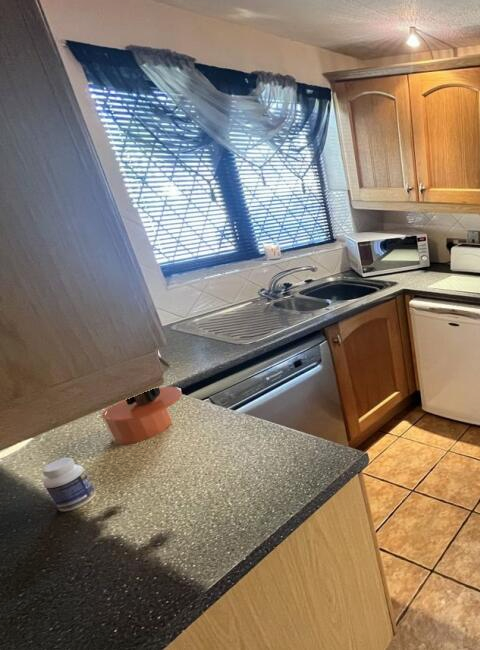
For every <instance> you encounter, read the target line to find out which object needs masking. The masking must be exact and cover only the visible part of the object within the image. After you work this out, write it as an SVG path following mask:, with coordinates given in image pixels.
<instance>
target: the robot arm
mask: <svg viewBox="0 0 480 650" xmlns="http://www.w3.org/2000/svg"><path fill="white" fill-rule="evenodd" d="M158 357H159V360H160V362H161V365H162V368H163V371H164V372H163V373H165V372H166V371H168V370H169V369H170V368H171V365H170V364H169V363H168V362H167V361H166V360H164V359H163V357H162V356H161V353H160V351H159V350H158ZM159 388H160V387H159V386H158V388H155V389H152V390H150V391H147V392H145V394H146V397H147V399H148V401H150V402H151V401H154V400H155V399H156V398H157V397H158V396H159V395H160V389H159ZM126 402H127V404H128V405H131V404H133V403H134V402H135V400H134V398H133V397H132V398H130V399H127V400H126Z"/></svg>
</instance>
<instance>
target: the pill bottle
mask: <svg viewBox="0 0 480 650" xmlns="http://www.w3.org/2000/svg"><path fill="white" fill-rule="evenodd" d="M42 473H43V475H44V477H45V478H44V479H43V483H42V484H43V486H44V488H45V489H46V491H47V492H48V494H49V496H50V498H51V499H52V501H53V503H54V504H55V507H56V508H57V510H58V511H60V512H69V511H70V512H71V511H74V510H76V509H79V508H81V507H82V506H84V505H86V504H88V503H89V502H90V501H91V500H93V499H94V498H95V496H96V490H95V487H94V486H93V483H92V481H91V480H90V478H89V476H88V475H87V473H86V471H85V469H84V468H83V466H82V465H80V464H76V463H75V461H74V460H73V458H72V457H63V458H59V459H56V460H54V461H52V462H49V463H48V464H46V465H45V466H44V467H43V468H42Z"/></svg>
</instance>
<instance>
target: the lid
mask: <svg viewBox="0 0 480 650" xmlns="http://www.w3.org/2000/svg"><path fill="white" fill-rule="evenodd" d="M159 389H160V395H159V396H158V397H157V398H156V399H155V400H154V401H151V402H150V401H148V399H147V397H146V394H145V392H144V393H142V394H139V395H137V396H135V397H133V398H134V400H135V402H134V403H133V404H131V405H128V404H127V402H126V400H125V401H122V400H121V401H122V402H120V401H119V402H120V403H118V404H116V403H115V404H116V405H114V404H113V405H114V406H112V405H111V406H112V407H111V408H110V409H109V410H108V412H107V417H108V419H109V420H112V421H130V420H135V419H139V418H143V417H146V416H149V415H152V414H154V413H157V412H159V411H161V410H163V409H165V408H169V407H171V406H172V405H174V404H175V403H177V402H178V401H179V400H180V398H181V397H182V395H183V392H182V389H181V388H179V387H176V386H161V387H159Z"/></svg>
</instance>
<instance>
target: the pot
mask: <svg viewBox="0 0 480 650" xmlns="http://www.w3.org/2000/svg"><path fill="white" fill-rule="evenodd" d="M112 405H113V406H114V404H112ZM110 408H111V407H110V406H108V407H107V408H106V409H105V410H103V412H102V414H101V418H102V421H103V423H104V425H105V427H106V429H107V431H108V433H109V435H110V437H111V439H112V440H113V442H114V443H116V444H118V445H130V444H135V443H139V442H142V441H143V442H144V441H146V440H148V439H150V438H153V437H155V436H157V435H159V434H161V433H162V432H163V431H165V430H166V429H167V428H168V427H170V425H171V424H172V423H173V422H172V421H173V419H172V414H171V413H170V410H169V407H167V408H165V409H163V410H161V411H159V412H157V413H154V414H152V415H149V416H146V417H143V418H139V419H135V420H130V421H112V420H109V419H108V417H107V412H108V410H109V409H110Z"/></svg>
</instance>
